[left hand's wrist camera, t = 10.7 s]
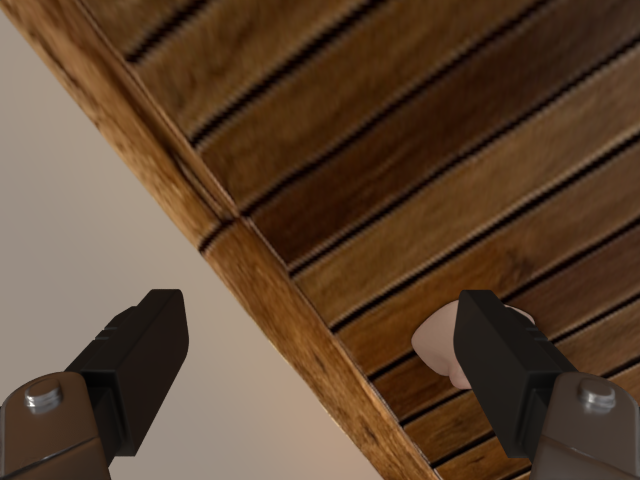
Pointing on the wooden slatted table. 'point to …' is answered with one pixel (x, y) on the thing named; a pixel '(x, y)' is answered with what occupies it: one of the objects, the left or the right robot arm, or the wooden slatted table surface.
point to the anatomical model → (443, 344)
